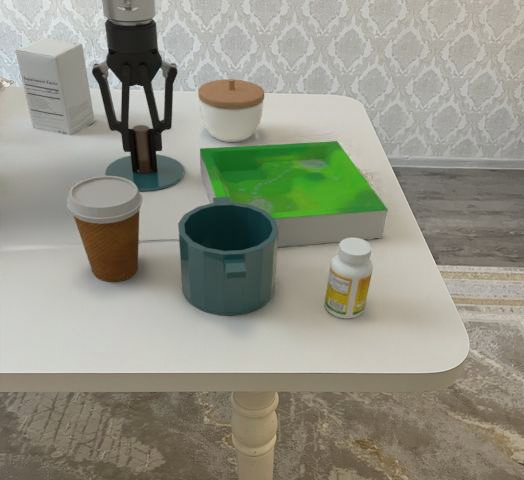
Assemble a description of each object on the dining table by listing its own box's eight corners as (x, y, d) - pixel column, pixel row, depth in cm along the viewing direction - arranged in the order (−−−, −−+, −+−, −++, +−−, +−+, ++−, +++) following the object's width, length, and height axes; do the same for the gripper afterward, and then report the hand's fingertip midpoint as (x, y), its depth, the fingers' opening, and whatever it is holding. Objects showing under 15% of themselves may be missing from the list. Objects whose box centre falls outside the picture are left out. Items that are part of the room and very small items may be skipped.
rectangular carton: (58, 114, 123) (43, 36, 113) (95, 122, 121) (84, 42, 111) (31, 130, 117) (13, 48, 107) (71, 138, 115) (56, 55, 105)
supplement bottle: (327, 320, 77) (337, 258, 70) (321, 295, 81) (329, 234, 74) (368, 319, 77) (381, 257, 71) (360, 294, 81) (371, 234, 75)
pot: (185, 332, 74) (182, 269, 68) (179, 252, 87) (175, 194, 81) (284, 325, 76) (290, 264, 69) (263, 248, 89) (266, 191, 82)
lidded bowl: (189, 143, 115) (187, 85, 108) (213, 120, 124) (212, 65, 117) (250, 155, 113) (252, 95, 105) (270, 130, 122) (273, 74, 114)
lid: (104, 196, 99) (97, 146, 93) (107, 160, 108) (101, 113, 103) (186, 193, 101) (184, 144, 95) (182, 158, 110) (179, 112, 105)
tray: (381, 238, 92) (387, 209, 89) (224, 251, 88) (224, 222, 84) (333, 167, 110) (337, 141, 107) (200, 175, 106) (199, 148, 102)
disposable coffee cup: (120, 297, 79) (108, 217, 71) (65, 275, 82) (48, 196, 74) (163, 263, 85) (156, 186, 77) (110, 243, 88) (99, 167, 80)
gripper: (73, 25, 84) (97, 179, 100) (185, 26, 86) (191, 176, 102) (77, 12, 89) (99, 160, 105) (182, 13, 91) (189, 157, 107)
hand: (144, 168), depth 103 cm, fingers closed on lid, 3 cm apart
